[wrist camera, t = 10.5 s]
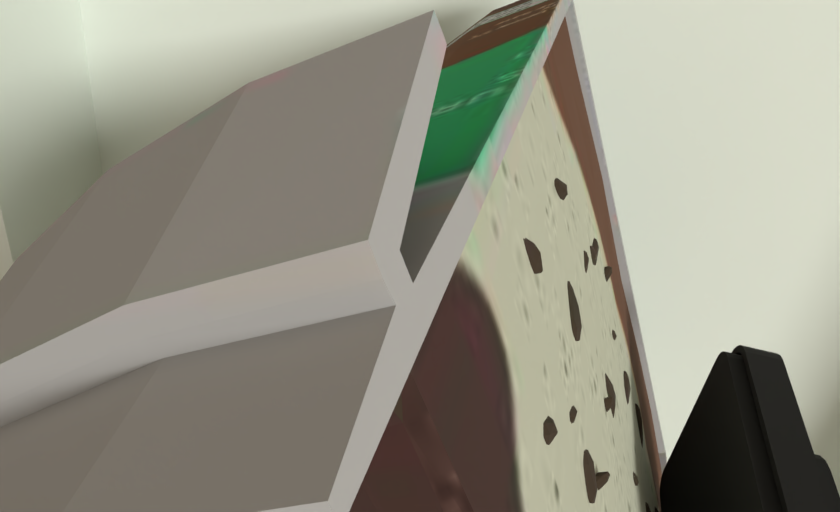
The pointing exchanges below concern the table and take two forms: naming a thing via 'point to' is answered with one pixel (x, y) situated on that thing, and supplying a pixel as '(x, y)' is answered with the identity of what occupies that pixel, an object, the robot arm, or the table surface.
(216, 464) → the food container
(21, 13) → the tray
